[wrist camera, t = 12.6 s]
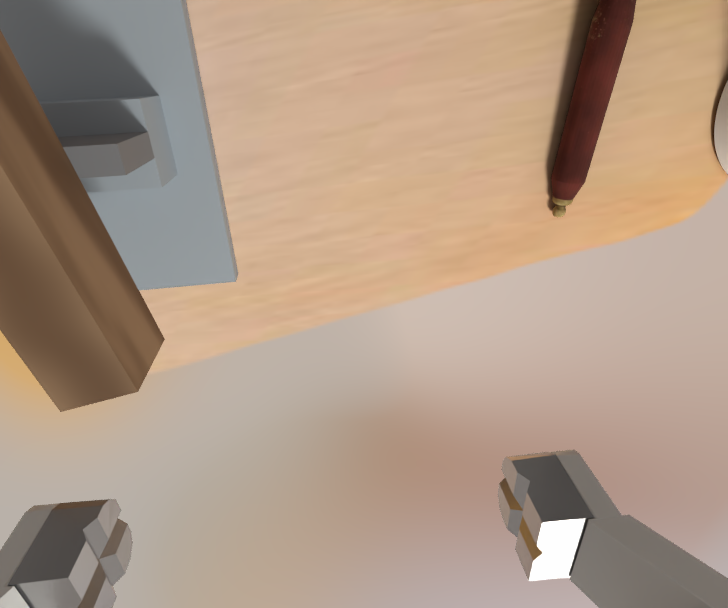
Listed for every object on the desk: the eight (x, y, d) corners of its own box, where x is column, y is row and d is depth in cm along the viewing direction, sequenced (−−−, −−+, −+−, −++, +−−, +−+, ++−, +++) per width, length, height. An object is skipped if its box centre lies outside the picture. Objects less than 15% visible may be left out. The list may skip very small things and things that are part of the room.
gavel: (629, 226, 36) (511, 227, 35) (596, 207, 40) (490, 208, 38) (759, -125, 25) (596, -143, 24) (697, -103, 29) (554, -118, 28)
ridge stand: (173, -67, 26) (104, -142, 17) (238, 274, 37) (217, 342, 27) (-84, -62, 25) (-309, -140, 16) (58, 289, 35) (-27, 367, 26)
